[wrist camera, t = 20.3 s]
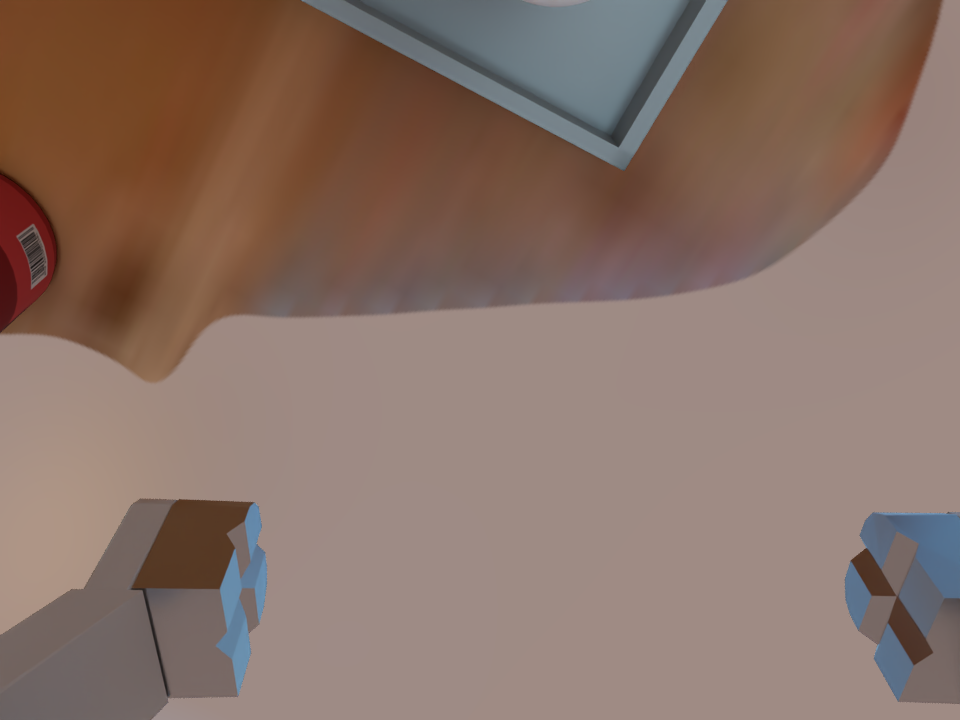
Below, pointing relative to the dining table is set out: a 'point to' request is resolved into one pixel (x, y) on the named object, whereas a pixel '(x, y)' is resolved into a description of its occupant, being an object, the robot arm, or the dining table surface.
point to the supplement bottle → (555, 2)
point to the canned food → (22, 251)
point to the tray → (550, 57)
